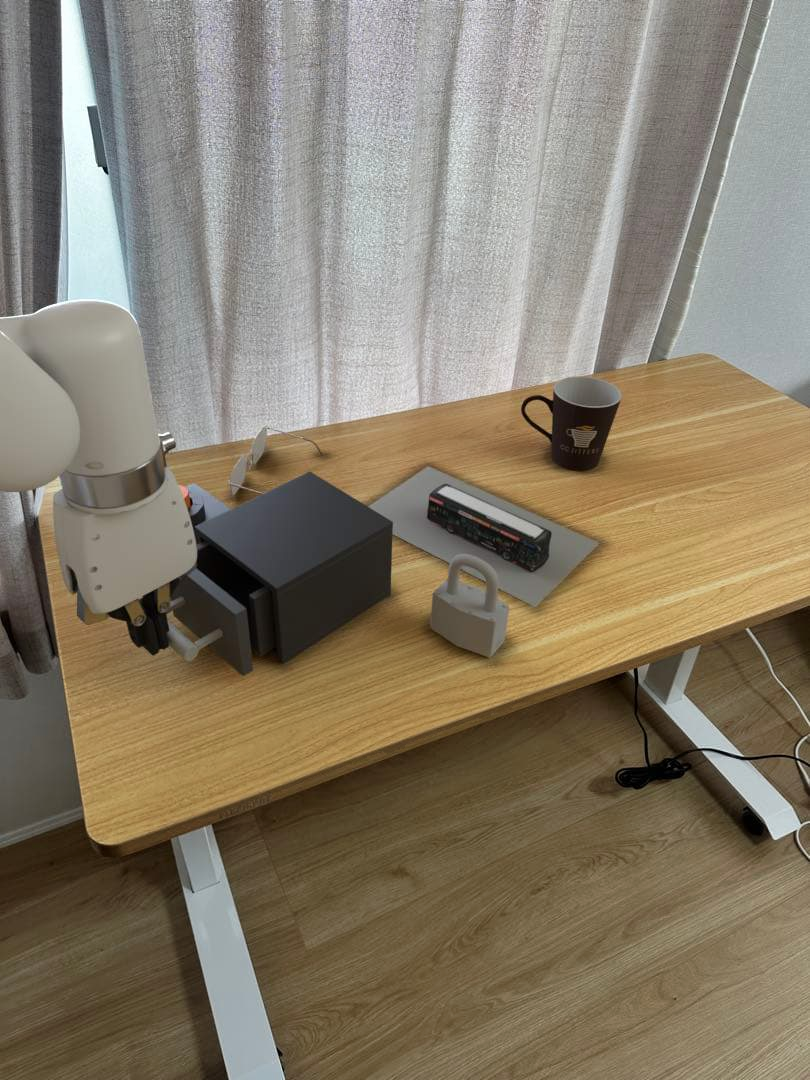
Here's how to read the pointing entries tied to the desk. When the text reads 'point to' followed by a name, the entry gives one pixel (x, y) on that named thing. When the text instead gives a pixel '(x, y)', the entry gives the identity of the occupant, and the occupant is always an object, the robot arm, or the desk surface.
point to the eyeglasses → (256, 452)
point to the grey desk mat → (484, 533)
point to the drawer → (222, 611)
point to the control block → (203, 506)
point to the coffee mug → (579, 420)
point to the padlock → (470, 609)
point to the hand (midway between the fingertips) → (152, 643)
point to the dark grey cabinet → (308, 556)
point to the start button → (185, 495)
